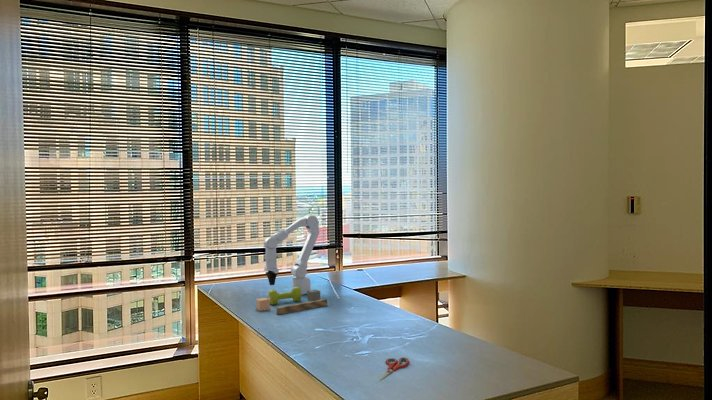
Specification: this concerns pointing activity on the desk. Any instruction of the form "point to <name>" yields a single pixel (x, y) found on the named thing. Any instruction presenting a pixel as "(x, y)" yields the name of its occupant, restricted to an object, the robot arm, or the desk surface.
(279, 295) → the dumbbell
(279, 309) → the bar
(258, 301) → the terracotta block
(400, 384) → the desk surface
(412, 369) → the desk surface
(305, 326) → the desk surface
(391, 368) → the scissors
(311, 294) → the charcoal block
